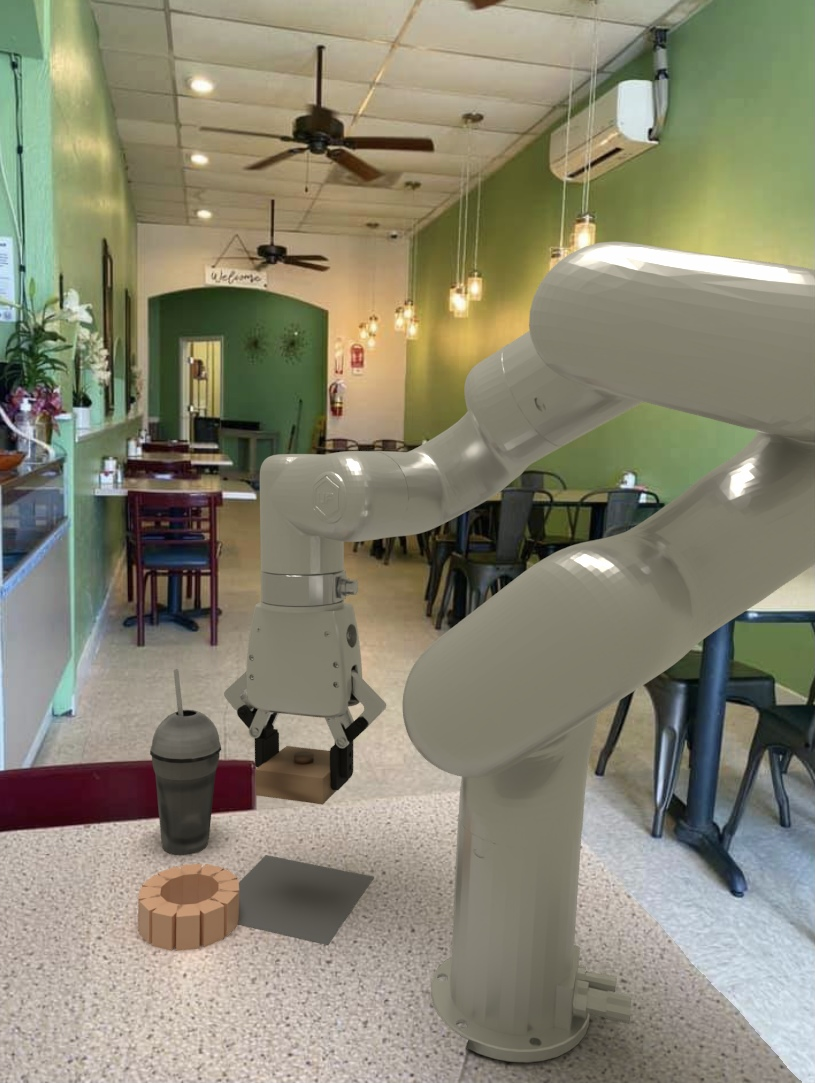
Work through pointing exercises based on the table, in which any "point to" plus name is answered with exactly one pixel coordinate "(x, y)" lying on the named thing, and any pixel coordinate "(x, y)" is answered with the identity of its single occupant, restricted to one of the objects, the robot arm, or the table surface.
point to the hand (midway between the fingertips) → (303, 778)
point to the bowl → (188, 907)
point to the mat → (298, 898)
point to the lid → (296, 776)
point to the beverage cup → (185, 777)
